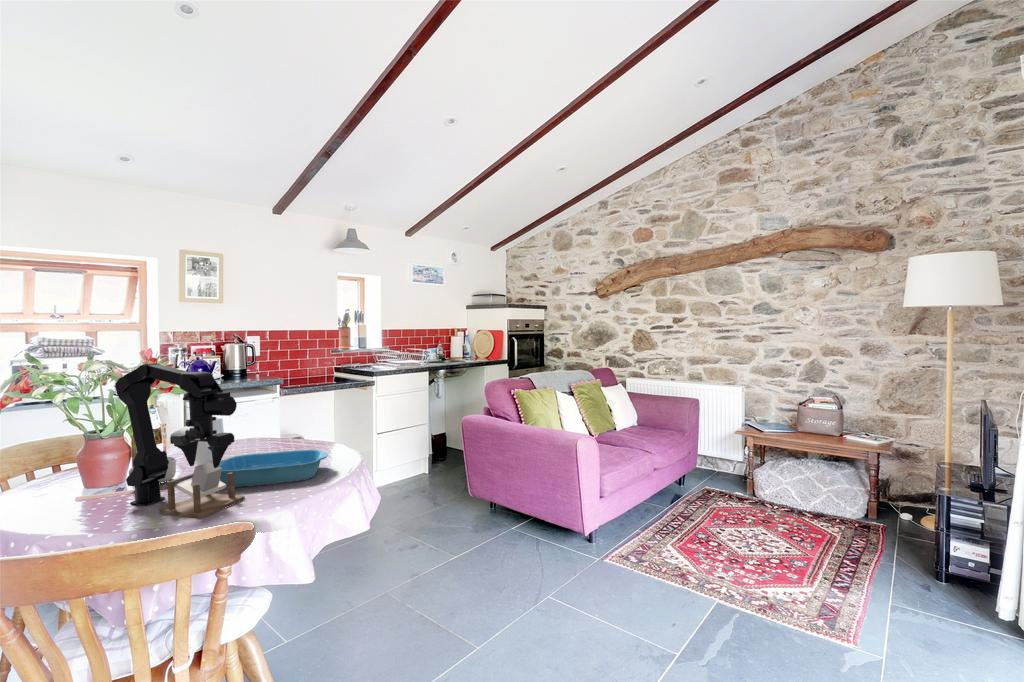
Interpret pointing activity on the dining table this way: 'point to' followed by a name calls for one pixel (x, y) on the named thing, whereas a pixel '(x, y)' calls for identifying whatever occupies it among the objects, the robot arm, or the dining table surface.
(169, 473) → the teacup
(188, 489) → the trapdoor
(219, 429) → the cup
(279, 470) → the casserole dish
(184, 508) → the trapdoor stand
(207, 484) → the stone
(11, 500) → the dining table surface
